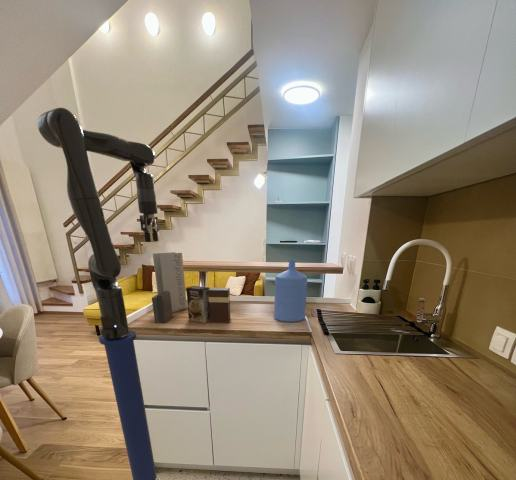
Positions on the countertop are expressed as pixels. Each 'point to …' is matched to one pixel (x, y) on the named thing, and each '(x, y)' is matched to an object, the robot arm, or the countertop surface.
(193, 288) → the coffee box
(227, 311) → the box
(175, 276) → the tall grey box
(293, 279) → the water jug
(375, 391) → the countertop surface
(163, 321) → the grey books
